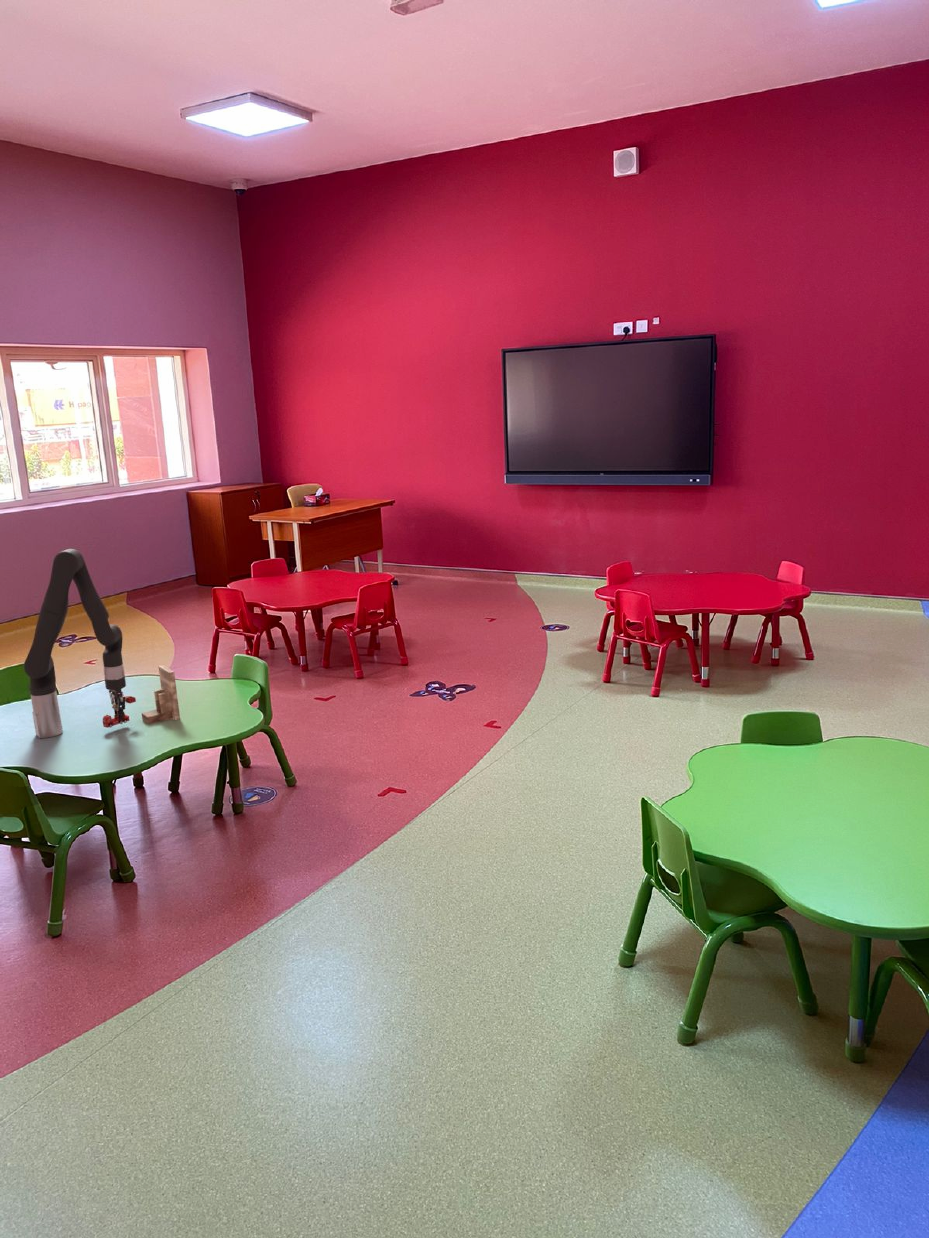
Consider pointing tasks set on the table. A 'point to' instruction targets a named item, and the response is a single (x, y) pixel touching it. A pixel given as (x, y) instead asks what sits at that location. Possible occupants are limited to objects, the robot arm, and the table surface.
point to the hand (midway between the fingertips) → (119, 717)
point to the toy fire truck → (111, 722)
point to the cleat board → (164, 699)
